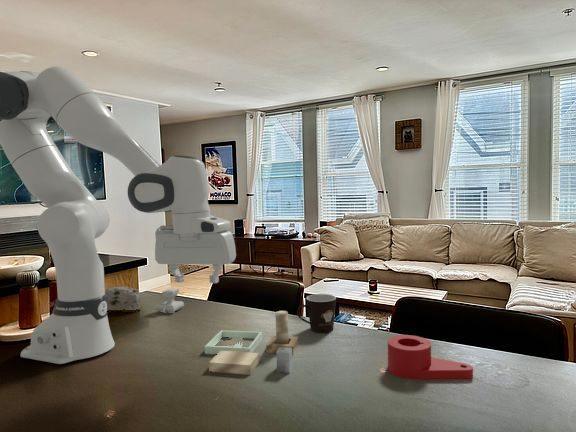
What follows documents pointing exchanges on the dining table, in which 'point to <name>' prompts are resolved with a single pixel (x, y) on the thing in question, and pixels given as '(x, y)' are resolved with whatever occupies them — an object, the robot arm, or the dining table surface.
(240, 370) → the tan rectangular slab
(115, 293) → the stone
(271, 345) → the socket block
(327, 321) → the coffee mug
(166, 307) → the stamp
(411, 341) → the lever
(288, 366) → the gray rectangular block
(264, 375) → the dining table surface
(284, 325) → the dowel
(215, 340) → the tray
